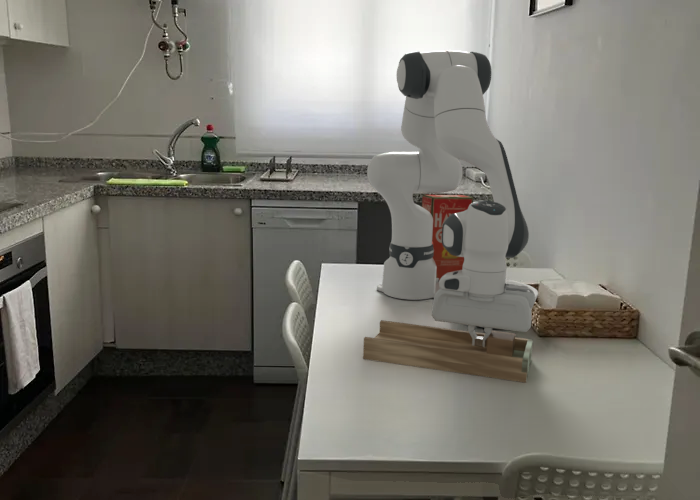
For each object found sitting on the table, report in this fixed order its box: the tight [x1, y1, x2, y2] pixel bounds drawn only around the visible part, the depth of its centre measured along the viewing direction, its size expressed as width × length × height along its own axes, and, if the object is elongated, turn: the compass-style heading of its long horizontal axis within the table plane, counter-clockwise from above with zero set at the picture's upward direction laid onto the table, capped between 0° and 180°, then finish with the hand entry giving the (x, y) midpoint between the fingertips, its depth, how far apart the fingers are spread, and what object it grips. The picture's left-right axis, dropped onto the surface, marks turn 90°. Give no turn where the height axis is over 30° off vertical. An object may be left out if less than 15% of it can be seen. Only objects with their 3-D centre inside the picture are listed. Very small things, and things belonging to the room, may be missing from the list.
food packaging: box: [421, 194, 474, 280], centre depth 210 cm, size 13×9×25 cm
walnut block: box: [487, 329, 516, 357], centre depth 145 cm, size 5×5×4 cm
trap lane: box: [362, 319, 534, 383], centre depth 147 cm, size 13×33×4 cm, turn 72°
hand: (479, 345), depth 147 cm, fingers closed
